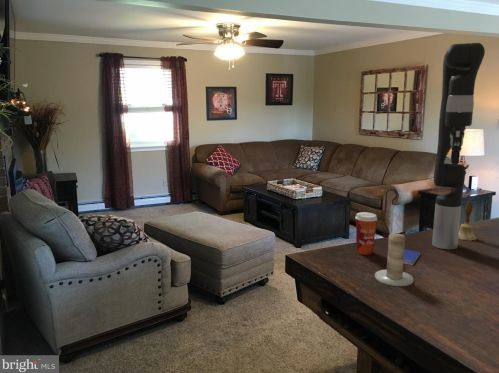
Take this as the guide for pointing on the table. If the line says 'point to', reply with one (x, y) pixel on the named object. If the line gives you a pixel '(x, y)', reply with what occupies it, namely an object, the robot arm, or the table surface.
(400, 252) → the wooden cylinder
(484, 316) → the table surface
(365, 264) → the table surface
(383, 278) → the white plate
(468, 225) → the hand bell
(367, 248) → the coffee cup
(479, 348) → the table surface
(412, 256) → the hard drive
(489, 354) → the table surface
